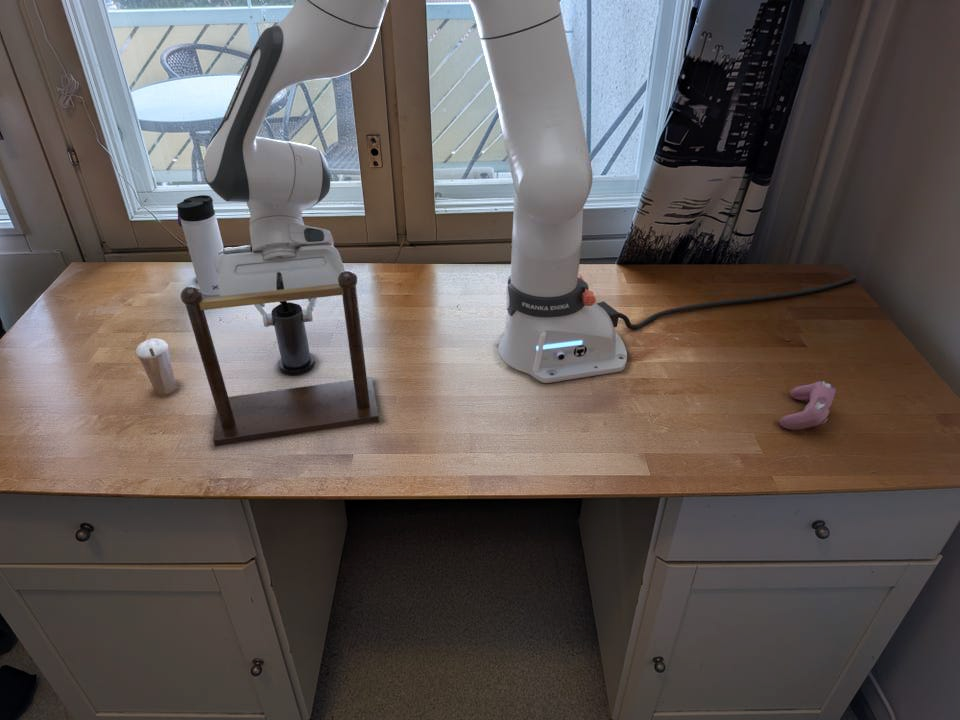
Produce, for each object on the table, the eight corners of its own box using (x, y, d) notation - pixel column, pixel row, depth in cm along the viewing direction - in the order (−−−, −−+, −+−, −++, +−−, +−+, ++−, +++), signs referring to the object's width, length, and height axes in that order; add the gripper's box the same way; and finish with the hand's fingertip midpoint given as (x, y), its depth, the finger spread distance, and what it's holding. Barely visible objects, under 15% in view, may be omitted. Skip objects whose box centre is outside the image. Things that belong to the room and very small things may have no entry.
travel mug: (225, 302, 128) (201, 206, 116) (195, 298, 129) (168, 202, 118) (241, 287, 133) (219, 193, 121) (211, 283, 134) (187, 190, 123)
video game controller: (800, 444, 98) (836, 420, 93) (775, 424, 99) (810, 399, 94) (811, 409, 105) (845, 385, 100) (788, 390, 106) (821, 365, 101)
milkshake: (153, 404, 102) (133, 352, 97) (149, 385, 106) (131, 334, 100) (183, 396, 104) (166, 344, 98) (179, 378, 108) (162, 327, 102)
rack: (220, 404, 103) (179, 264, 88) (372, 383, 107) (357, 247, 93) (214, 446, 95) (169, 300, 80) (379, 421, 99) (363, 280, 85)
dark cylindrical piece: (279, 357, 113) (259, 263, 102) (314, 353, 114) (298, 259, 103) (279, 386, 106) (257, 288, 96) (316, 381, 108) (299, 284, 97)
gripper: (208, 242, 102) (217, 326, 100) (339, 230, 106) (351, 311, 104) (217, 255, 109) (226, 335, 107) (341, 243, 113) (351, 320, 111)
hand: (289, 323), depth 106 cm, fingers closed on dark cylindrical piece, 5 cm apart
